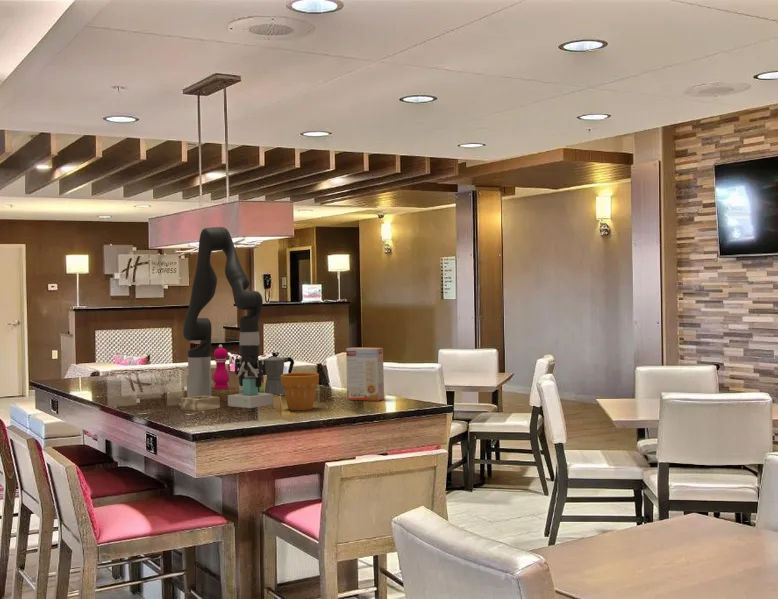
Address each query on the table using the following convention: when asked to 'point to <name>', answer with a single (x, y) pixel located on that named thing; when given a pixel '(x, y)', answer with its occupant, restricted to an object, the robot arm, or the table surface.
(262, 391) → the coffee can
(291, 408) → the flower pot
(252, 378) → the plug
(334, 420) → the table surface
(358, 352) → the cracker box
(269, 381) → the coffeepot
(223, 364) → the pepper mill
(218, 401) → the holster
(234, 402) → the port
